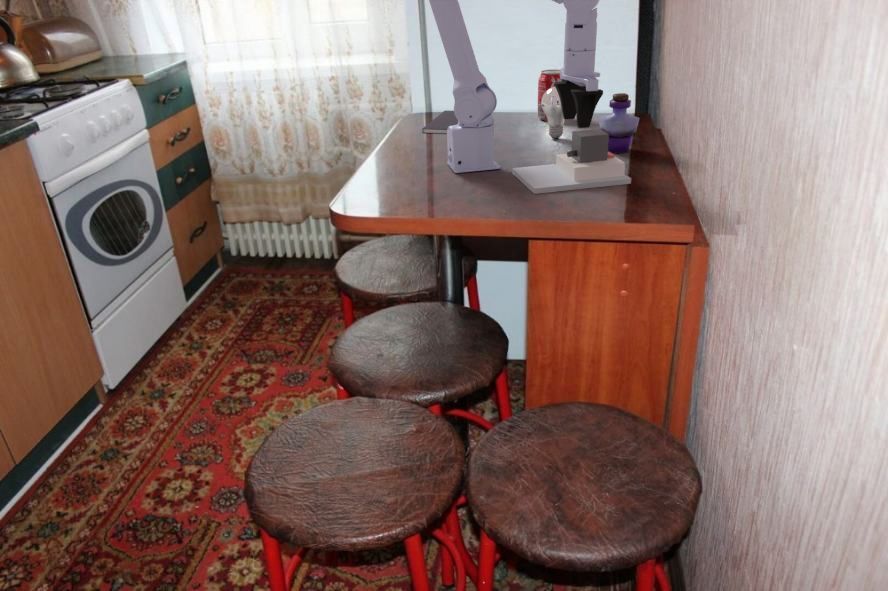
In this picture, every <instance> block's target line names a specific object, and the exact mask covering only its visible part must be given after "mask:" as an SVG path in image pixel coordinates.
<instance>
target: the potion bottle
mask: <svg viewBox="0 0 888 591" xmlns="http://www.w3.org/2000/svg"><path fill="white" fill-rule="evenodd" d="M629 96H630V95H629V94H627V93H625V92H623V93H621V92H620V93H614V94H612V99H611V100H609V105H608V106H609V108H611V109H612V113H609V114H605V115H602V116H601V117H599V118H598V123H599V129H600V130H602V131H604V132H606V133H607V134H609V139H608V152H610V153H612V154H627V153H629V152H630V151H631V150H630V148H631V145H632V142H633V139H634V137H635V136H636V134H637V131H638V126H639V122H640V120H641V119H640V117H638V116H635V115H632V114H628V113H627V111H628V109H629V108H631V106H632V100H630V99H629Z"/></svg>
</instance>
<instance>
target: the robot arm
mask: <svg viewBox="0 0 888 591" xmlns="http://www.w3.org/2000/svg"><path fill="white" fill-rule="evenodd" d="M428 1H429V4H430V8H431V10H432V14H433V18H434V21H435V23H436V26H437V30H438V33H439V36H440V39H441V42H442V44H443V49H444V52H445V55H446V58H447V60H448V64H449V67H450V71H451V74H452V77H453V84H452V85H453V86H452V95H453V99H454V106H453V111H454V113H455V116H456V118H457V119H458V124H457V125H453V126H449V127H448V129H447V133H446V143H447V144H446V146H447V165H448V166H449V167H450V169H452V171H453V172H454V173H455V174H461V173H470V172H471V173H472V172H481V171H488V170H489V171H491V170H500V169H501V166H500V165H499V164H498V163H497V162H496V161H495V127H494V126H495V124H494V123H495V120H494V117H493V115H492V114H493V113H494V111H495V110H496V108H497V104H498V102H497V101H498V100H497V95H496V93H495V91H494V90H492V88H491V87H490V86H489V84H488V81H487V77H485V75H484V74H483V73H482V72H481V71H480V68H479V65H478V62H477V59H476V55H475V52H474V50H473V49H474V48H473V45H472V42H471V40H470V39H471V38H470V35H469V32H468V29H467V26H466V23H465V19H464V16H463V12H462V10H461V6H460V2H459V0H428ZM551 1H552V2H554V3H557V4H558V5H561V4H563V6H564V8H565V10H566V14H565V15H566V18H565V24H564V26H565V27H564V46H563V47H564V48H563V68H562V67H561V68H560V69H559V70H560V79H563V80H562V81H561V82H555V83H554V85H555V87H556V89H557V92H558V94H559V97H560V101H561V107H562V113H563V117H564V119H565V121H566V120H576V124H577V128H578V129H585V128H588V129H589V128H590V126H591V124H592V119H593V117H594V114H595V113H594V112H595V111H596V108H597V105H598V103H599V101H600V99H601V98H602V97H603V95H604V90H602V89H601V88H600V89H599V82H600V80H599V79H598V78H600V77H601V72H599V71H595V65H596V51H597V50H596V49H597V35H598V33H597V32H598V22H597V21H598V20H597V19H598V8H597V6H598V5H599V2H600V0H551ZM575 118H576V119H575Z"/></svg>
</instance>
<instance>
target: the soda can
mask: <svg viewBox="0 0 888 591" xmlns="http://www.w3.org/2000/svg"><path fill="white" fill-rule="evenodd" d="M562 80H563V79H560V69H545V70H541V71H540V75H539V77H538V83H537V116H538V118H539V119H541V121H543V120H544V121H545V122H548V120H547V117H546V115H545V113H544V111H543V109H542V104H541V101H542V97H543V95H544V93H545V92H546V91H547V90H548V89H549V88H551V87H554V86H555V85H554V83H555V82H561V81H562Z"/></svg>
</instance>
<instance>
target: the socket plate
mask: <svg viewBox="0 0 888 591" xmlns="http://www.w3.org/2000/svg"><path fill="white" fill-rule="evenodd" d="M555 157H556V158H555V164H556V167H557V168H558V169H559V170H561V171H562V172H563V173H565V174H566V175H567V176H568V177H570V178H571V179H572V180H574V181H579V180H588V179H598V178H608V177H618V176H624V174H625V171H626V170H625V169H626V168H625V167H626V162H624V161H623V160H621V159H619V158H618V157H616V156H615V153H610V152H608V155H607V160H605V161H595V162H589V163H579V162H578V161H576V160H575V159H573V158H572V157H567V153H560V154H559V153H558V154H555Z"/></svg>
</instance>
